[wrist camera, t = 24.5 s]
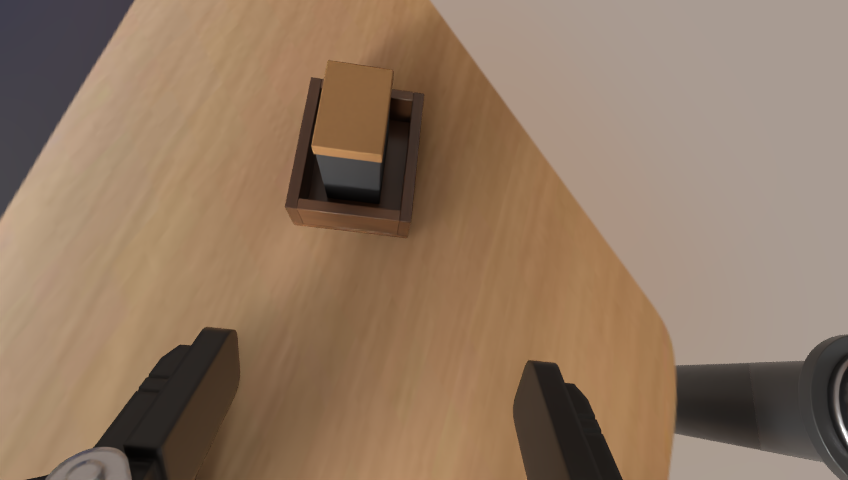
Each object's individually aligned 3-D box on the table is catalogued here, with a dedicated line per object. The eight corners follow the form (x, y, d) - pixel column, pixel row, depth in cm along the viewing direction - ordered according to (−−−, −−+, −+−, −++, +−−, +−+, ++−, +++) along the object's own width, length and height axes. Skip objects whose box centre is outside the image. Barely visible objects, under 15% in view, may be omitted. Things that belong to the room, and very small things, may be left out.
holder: (419, 119, 37) (424, 93, 33) (406, 238, 33) (410, 222, 30) (316, 105, 36) (311, 77, 33) (293, 224, 33) (284, 207, 29)
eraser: (389, 135, 35) (393, 69, 28) (380, 205, 33) (382, 155, 26) (337, 128, 35) (327, 59, 27) (325, 199, 33) (310, 146, 25)
